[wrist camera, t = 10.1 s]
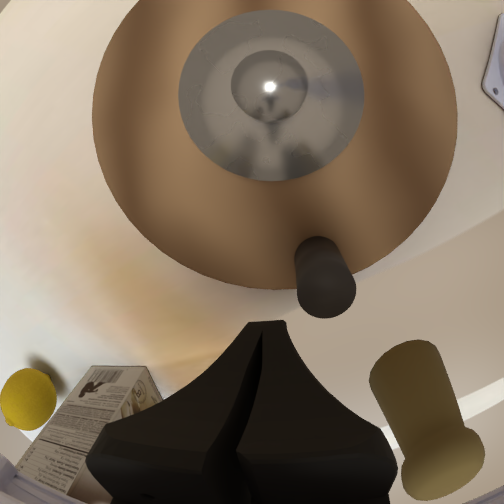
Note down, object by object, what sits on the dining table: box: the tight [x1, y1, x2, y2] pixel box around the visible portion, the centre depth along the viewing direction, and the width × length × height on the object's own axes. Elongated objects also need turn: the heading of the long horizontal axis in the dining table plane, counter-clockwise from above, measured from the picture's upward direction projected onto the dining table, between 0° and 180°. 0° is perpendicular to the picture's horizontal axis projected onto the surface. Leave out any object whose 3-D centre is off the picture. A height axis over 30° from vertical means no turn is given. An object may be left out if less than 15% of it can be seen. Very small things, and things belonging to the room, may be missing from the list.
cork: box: [369, 340, 485, 501], centre depth 15 cm, size 6×6×11 cm
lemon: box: [0, 368, 57, 431], centre depth 21 cm, size 6×6×8 cm
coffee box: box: [15, 366, 163, 504], centre depth 16 cm, size 9×6×16 cm
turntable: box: [92, 0, 457, 318], centre depth 12 cm, size 20×20×5 cm
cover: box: [178, 10, 364, 181], centre depth 12 cm, size 8×8×3 cm
